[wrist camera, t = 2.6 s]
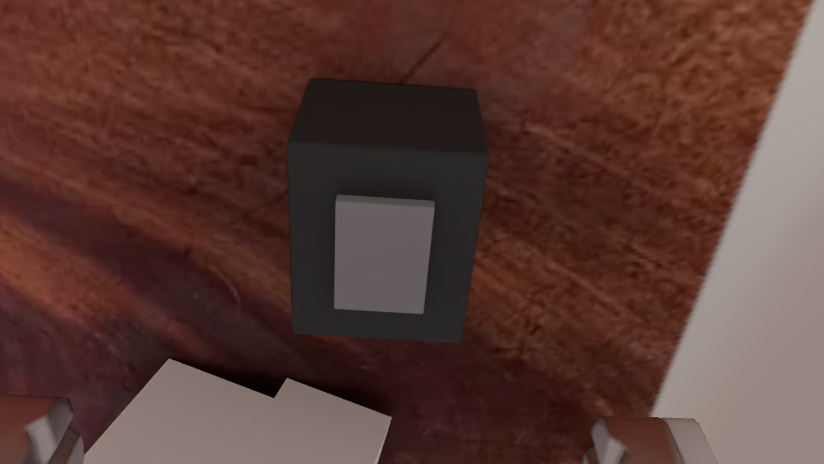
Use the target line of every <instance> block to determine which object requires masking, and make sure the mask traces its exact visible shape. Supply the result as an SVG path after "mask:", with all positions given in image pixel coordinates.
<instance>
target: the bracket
mask: <svg viewBox="0 0 824 464" xmlns="http://www.w3.org/2000/svg"><path fill="white" fill-rule="evenodd" d="M391 418H392V417H390V416H387V415H384V414H382V413H379V412H376V411H374V410H371V409H368V408H366V407H363V406H360V405H358V404H355V403H352V402H350V401H347V400H344V399H342V398H339V397H336V396H334V395H331V394H328V393H326V392H323V391H320V390H318V389H315V388H312V387H310V386H307V385H304V384H302V383H299V382H296V381H294V380H291V379H288V378H287V379H286V380H285V382H284V383H283V385H282V387H281V388H280V390H279V391H278V393H277V395H276V396H275V398H272V397H269V396H267V395H264V394H261V393H259V392H256V391H254V390H251V389H248V388H246V387H243V386H240V385H238V384H235V383H232V382H230V381H227V380H225V379H222V378H219V377H217V376H214V375H211V374H209V373H206V372H203V371H201V370H198V369H196V368H193V367H190V366H188V365H185V364H182V363H180V362H177V361H174V360H172V359H168V360H167V361H166V362H165V364H164V365H163V366H162V367H161V368H160V369H159V370H158V372H157V373H156V374H155V375H154V376H153V377H152V378H151V380H150V381H149V382H148V383H147V384H146V385H145V386H144V388H143V389H142V390H141V391H140V392H139V393H138V395H137V396H136V397H135V398H134V399H133V400H132V401H131V403H130V404H129V405H128V406H127V407H126V408H125V409H124V411H123V412H122V413H121V414H120V415H119V416H118V417H117V419H116V420H115V421H114V422H113V423H112V424H111V425H110V427H109V428H108V429H107V430H106V431H105V432H104V433H103V435H102V436H101V437H100V438H99V439H98V440H97V441H96V443H95V444H94V445H93V446H92V447H91V448H90V449H89V451H88V452H87V453H86V454H85V455H84V461H83V464H377V463H378V460H379V457H380V454H381V451H382V447H383V444H384V441H385V438H386V434H387V431H388V428H389V425H390V422H391Z"/></svg>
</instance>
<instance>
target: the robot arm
mask: <svg viewBox="0 0 824 464" xmlns="http://www.w3.org/2000/svg"><path fill="white" fill-rule="evenodd" d="M73 416H74V411H73V408H72V406H71V403H70V400H69V399H68V398H63V397H50V396H33V395H17V394H1V393H0V464H83V461H84V445H83V441H82V437H81V434H80V433H79V432H78V431H76V430H75V429H74V428H73V427H71V426H70V425H69V423H70V421H71V420H72V418H73ZM591 436H592V439H593V443H594V444H593V445H592V446H591V447H589V448H588V449H586V450H585V451H584V455H583V459H582V463H581V464H718V463H717V461H716V459H715V457H714V455H713V453H712V450H711V448H710V446H709V444H708V442H707V440H706V438H705V436H704V433H703V431H702V429H701V427H700V425H699V424H698V423H697V422H696V421H695V420H694V419H684V418H658V417H625V416H598V417H597V418H596V419H595V420H594V423H593V426H592V429H591Z"/></svg>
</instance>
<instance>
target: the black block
mask: <svg viewBox="0 0 824 464" xmlns="http://www.w3.org/2000/svg"><path fill="white" fill-rule="evenodd" d="M488 163H489V152H488V147H487V142H486V137H485V133H484V128H483V123H482V118H481V113H480V108H479V103H478V98H477V93H476V91H474V90H465V89H451V88H437V87H423V86H409V85H395V84H381V83H367V82H353V81H338V80H324V79H310V80H309V83H308V86H307V88H306V91H305V94H304V97H303V99H302V102H301V105H300V108H299V111H298V113H297V116H296V119H295V122H294V125H293V127H292V130H291V133H290V136H289V138H288V141H287V168H288V202H289V235H290V269H291V302H292V331H293V333H295V334H308V335H326V336H343V337H361V338H378V339H396V340H413V341H431V342H448V343H460V342H461V341H462V336H463V329H464V322H465V316H466V309H467V303H468V296H469V289H470V283H471V276H472V269H473V263H474V256H475V249H476V243H477V236H478V230H479V223H480V216H481V210H482V203H483V196H484V190H485V183H486V177H487V170H488Z"/></svg>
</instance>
